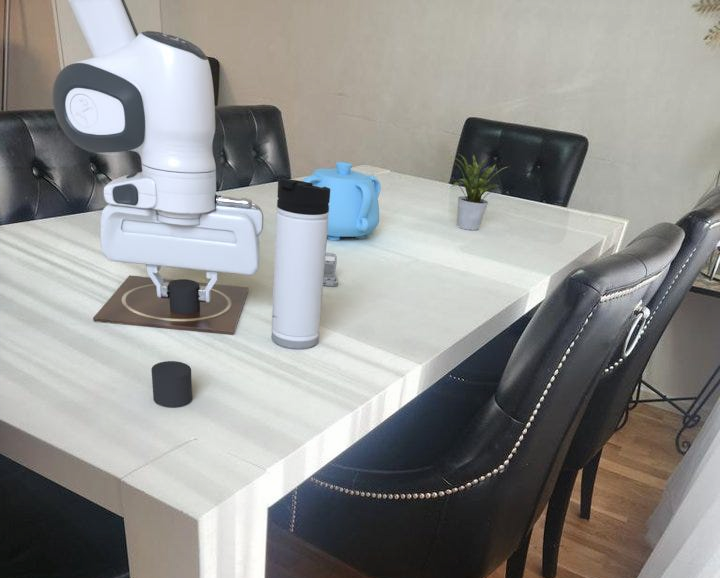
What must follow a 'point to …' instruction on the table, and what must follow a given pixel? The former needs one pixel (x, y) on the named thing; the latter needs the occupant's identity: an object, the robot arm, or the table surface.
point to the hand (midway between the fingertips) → (184, 299)
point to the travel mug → (299, 263)
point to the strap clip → (330, 271)
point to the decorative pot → (349, 200)
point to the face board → (146, 309)
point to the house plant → (473, 195)
